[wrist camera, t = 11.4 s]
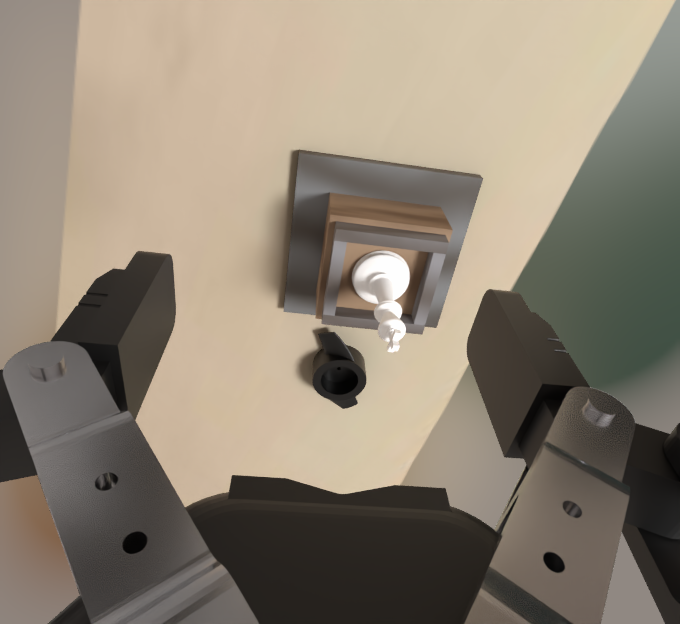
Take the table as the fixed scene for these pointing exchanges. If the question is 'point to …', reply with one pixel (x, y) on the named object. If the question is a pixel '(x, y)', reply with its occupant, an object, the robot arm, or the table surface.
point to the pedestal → (374, 235)
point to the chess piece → (383, 291)
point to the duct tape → (338, 371)
